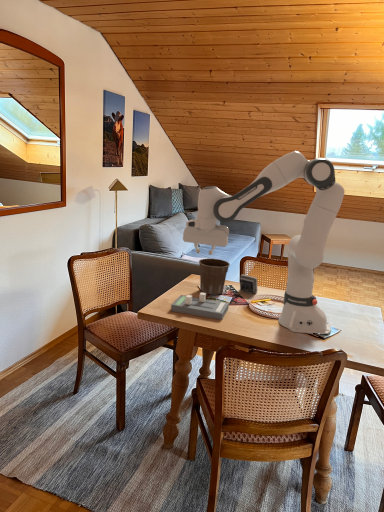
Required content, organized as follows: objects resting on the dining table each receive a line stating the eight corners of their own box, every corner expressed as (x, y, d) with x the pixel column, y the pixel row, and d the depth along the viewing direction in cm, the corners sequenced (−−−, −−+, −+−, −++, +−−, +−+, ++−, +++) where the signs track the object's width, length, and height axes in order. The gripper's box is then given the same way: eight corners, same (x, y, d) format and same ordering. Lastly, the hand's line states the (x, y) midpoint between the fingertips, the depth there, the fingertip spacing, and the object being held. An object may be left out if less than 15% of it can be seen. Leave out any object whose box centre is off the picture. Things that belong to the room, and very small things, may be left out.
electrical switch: (257, 292, 212) (258, 276, 208) (253, 296, 207) (254, 279, 204) (241, 288, 216) (242, 273, 213) (237, 292, 212) (238, 276, 209)
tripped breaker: (205, 300, 186) (206, 293, 185) (204, 302, 184) (204, 294, 183) (200, 299, 187) (201, 292, 186) (199, 301, 185) (199, 294, 184)
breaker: (191, 302, 182) (192, 295, 181) (190, 304, 180) (190, 297, 179) (186, 302, 183) (187, 294, 182) (185, 303, 180) (185, 296, 179)
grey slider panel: (228, 308, 187) (228, 302, 186) (221, 319, 174) (222, 313, 173) (180, 300, 193) (180, 294, 192) (170, 310, 180) (171, 304, 179)
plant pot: (224, 287, 217) (227, 258, 213) (229, 297, 202) (232, 267, 198) (195, 285, 216) (197, 257, 212) (197, 296, 201) (199, 266, 196)
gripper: (231, 225, 173) (228, 255, 177) (186, 220, 179) (185, 249, 182) (228, 227, 167) (225, 258, 171) (182, 222, 173) (180, 252, 176)
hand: (204, 253), depth 177 cm, fingers open, 4 cm apart
